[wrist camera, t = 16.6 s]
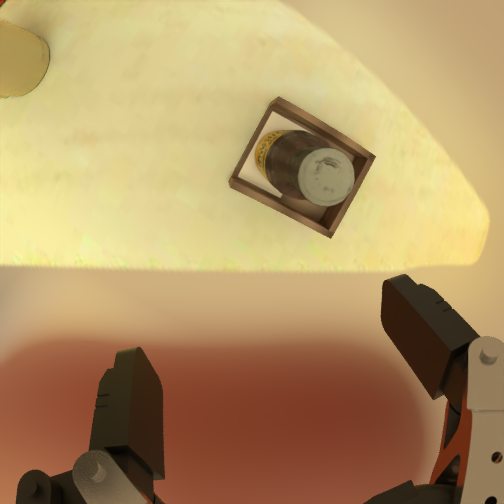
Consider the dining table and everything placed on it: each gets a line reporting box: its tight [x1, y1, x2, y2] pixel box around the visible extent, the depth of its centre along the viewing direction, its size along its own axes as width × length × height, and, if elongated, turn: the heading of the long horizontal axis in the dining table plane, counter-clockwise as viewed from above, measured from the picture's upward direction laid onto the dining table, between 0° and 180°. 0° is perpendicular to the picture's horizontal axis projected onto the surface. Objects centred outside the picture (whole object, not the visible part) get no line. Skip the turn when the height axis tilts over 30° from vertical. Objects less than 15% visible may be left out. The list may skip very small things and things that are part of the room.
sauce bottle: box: [255, 130, 355, 207], centre depth 30 cm, size 6×6×20 cm
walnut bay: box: [229, 97, 376, 239], centre depth 38 cm, size 14×12×5 cm
